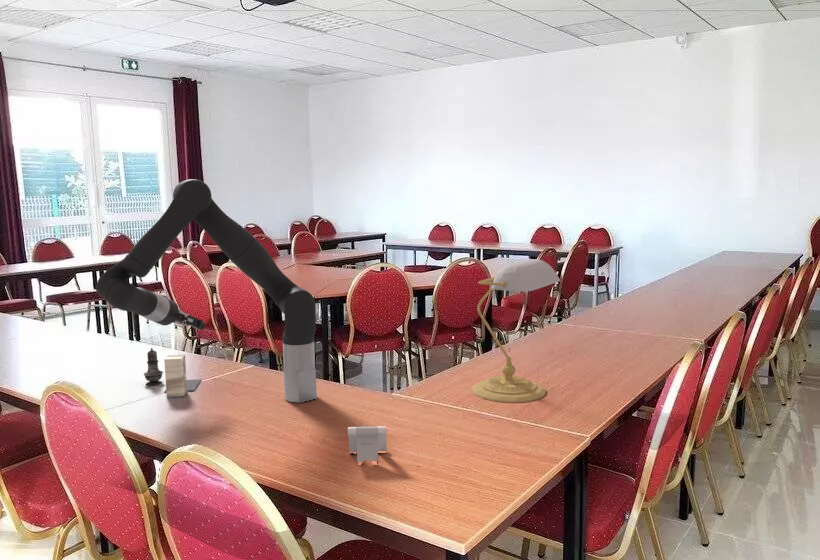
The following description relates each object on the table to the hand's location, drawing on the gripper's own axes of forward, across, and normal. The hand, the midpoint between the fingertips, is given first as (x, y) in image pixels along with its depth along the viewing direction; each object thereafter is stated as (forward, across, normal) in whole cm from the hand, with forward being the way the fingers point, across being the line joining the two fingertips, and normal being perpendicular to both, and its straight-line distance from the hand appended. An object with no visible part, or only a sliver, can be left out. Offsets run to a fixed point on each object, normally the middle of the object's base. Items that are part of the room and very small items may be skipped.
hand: (192, 323), depth 198 cm
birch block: (+7, +1, +22) cm, 23 cm away
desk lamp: (+38, -91, -10) cm, 99 cm away
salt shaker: (+14, +17, +21) cm, 30 cm away
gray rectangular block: (+14, +6, +19) cm, 24 cm away
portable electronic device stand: (-16, -75, +20) cm, 79 cm away
